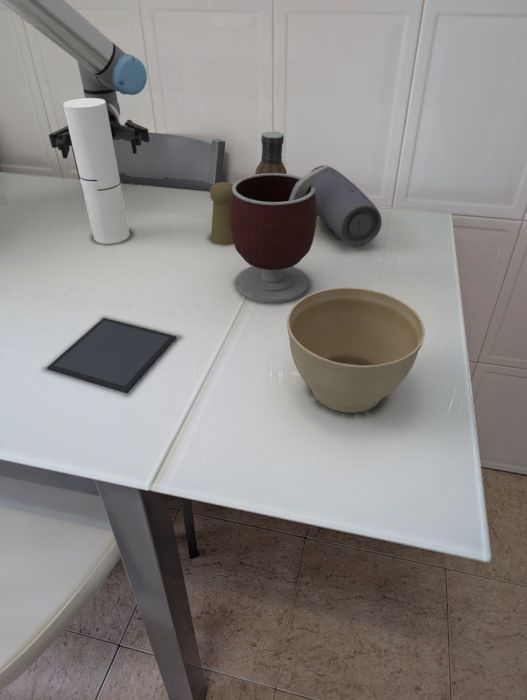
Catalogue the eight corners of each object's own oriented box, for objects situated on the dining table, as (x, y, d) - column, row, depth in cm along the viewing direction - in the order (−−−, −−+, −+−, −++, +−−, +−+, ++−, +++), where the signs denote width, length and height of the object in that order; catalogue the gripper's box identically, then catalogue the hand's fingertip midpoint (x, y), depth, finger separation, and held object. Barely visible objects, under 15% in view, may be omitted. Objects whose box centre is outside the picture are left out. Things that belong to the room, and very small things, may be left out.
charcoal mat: (47, 369, 69) (46, 367, 69) (103, 319, 78) (103, 317, 78) (126, 393, 65) (126, 391, 65) (176, 337, 74) (175, 335, 74)
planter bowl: (307, 340, 74) (311, 276, 67) (417, 367, 69) (433, 301, 62) (266, 412, 62) (266, 344, 56) (394, 450, 57) (412, 381, 51)
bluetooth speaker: (380, 249, 97) (388, 200, 91) (335, 255, 95) (341, 204, 89) (338, 205, 114) (343, 161, 108) (300, 209, 112) (302, 164, 106)
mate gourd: (237, 308, 81) (232, 187, 68) (228, 267, 91) (223, 156, 79) (329, 300, 82) (341, 181, 70) (310, 261, 93) (318, 151, 81)
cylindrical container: (101, 227, 105) (72, 97, 89) (134, 229, 104) (111, 98, 88) (88, 242, 99) (56, 107, 83) (123, 244, 98) (97, 107, 83)
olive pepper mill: (219, 246, 98) (216, 192, 91) (205, 235, 102) (201, 182, 95) (245, 239, 100) (244, 186, 93) (231, 228, 104) (229, 176, 97)
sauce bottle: (252, 242, 99) (251, 138, 87) (254, 229, 104) (253, 128, 92) (284, 243, 99) (288, 139, 87) (285, 229, 104) (288, 129, 92)
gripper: (158, 135, 119) (164, 163, 103) (50, 142, 115) (38, 172, 99) (154, 101, 115) (159, 125, 98) (41, 107, 110) (27, 133, 94)
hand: (99, 149), depth 99 cm, fingers open, 13 cm apart
